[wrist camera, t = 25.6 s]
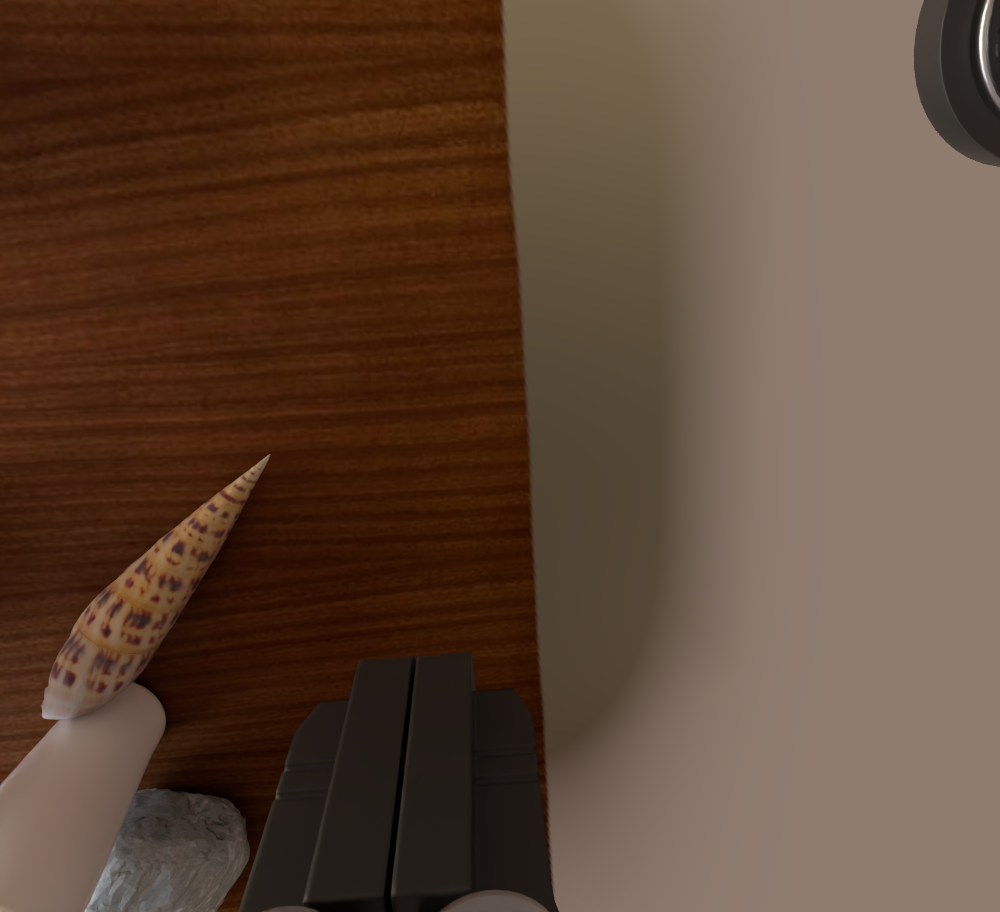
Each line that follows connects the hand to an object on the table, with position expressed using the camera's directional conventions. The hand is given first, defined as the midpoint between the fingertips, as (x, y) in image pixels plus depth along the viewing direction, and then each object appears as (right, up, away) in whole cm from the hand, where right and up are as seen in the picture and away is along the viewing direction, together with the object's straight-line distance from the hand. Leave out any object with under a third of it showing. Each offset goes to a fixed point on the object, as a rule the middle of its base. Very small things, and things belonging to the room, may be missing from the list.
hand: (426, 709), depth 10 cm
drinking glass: (-21, -12, +35) cm, 43 cm away
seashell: (-17, -3, +32) cm, 36 cm away
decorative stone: (-22, -22, +38) cm, 49 cm away
